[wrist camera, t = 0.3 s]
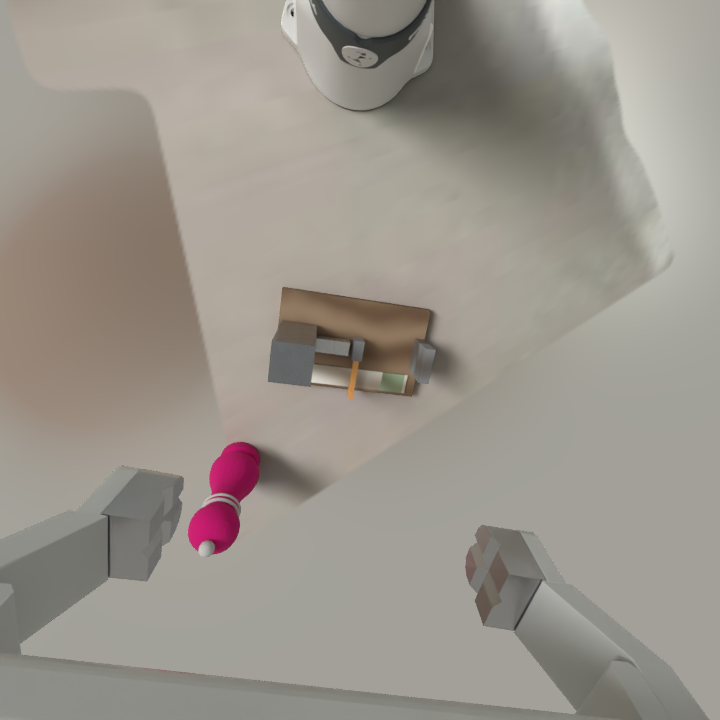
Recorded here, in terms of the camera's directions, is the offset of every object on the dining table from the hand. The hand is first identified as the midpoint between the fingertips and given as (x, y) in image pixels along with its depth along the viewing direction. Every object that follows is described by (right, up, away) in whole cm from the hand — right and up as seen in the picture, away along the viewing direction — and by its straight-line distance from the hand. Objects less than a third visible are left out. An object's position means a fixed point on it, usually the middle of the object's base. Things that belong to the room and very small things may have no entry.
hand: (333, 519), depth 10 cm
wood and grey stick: (0, +3, +46) cm, 46 cm away
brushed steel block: (-6, +7, +45) cm, 46 cm away
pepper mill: (-19, -12, +51) cm, 56 cm away
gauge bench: (-1, +7, +47) cm, 48 cm away
